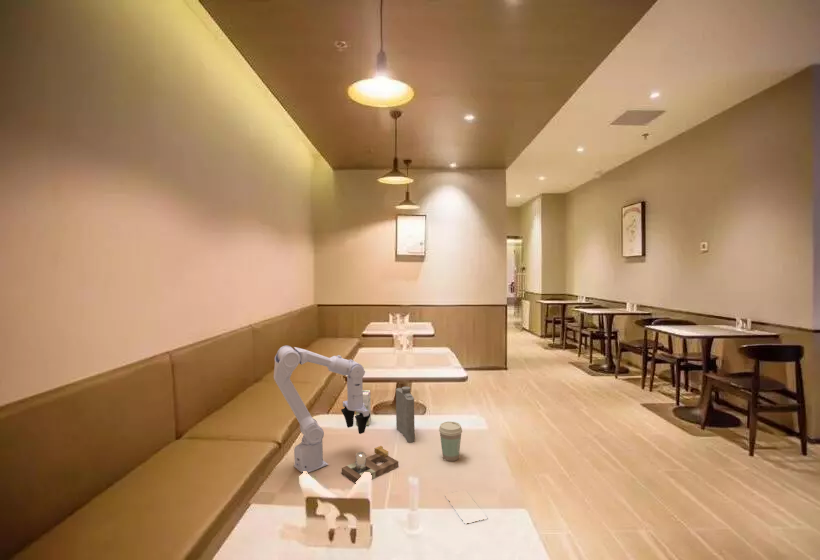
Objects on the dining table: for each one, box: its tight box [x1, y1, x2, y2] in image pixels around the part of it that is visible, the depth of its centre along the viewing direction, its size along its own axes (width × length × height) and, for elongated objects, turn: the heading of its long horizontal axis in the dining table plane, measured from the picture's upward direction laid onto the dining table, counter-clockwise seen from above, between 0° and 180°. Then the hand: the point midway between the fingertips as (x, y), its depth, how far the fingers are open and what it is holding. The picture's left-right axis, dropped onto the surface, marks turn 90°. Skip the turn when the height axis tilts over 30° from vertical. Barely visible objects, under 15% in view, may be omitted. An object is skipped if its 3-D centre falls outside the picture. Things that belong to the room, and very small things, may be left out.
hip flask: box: [395, 386, 416, 444], centre depth 169 cm, size 16×4×20 cm, turn 21°
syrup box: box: [355, 389, 372, 427], centre depth 181 cm, size 6×6×14 cm
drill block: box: [341, 453, 399, 484], centre depth 141 cm, size 17×10×2 cm, turn 132°
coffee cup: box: [438, 421, 463, 462], centre depth 149 cm, size 8×8×12 cm
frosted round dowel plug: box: [355, 451, 367, 474], centre depth 138 cm, size 3×3×7 cm
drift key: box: [374, 445, 389, 457], centre depth 148 cm, size 3×5×2 cm, turn 42°
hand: (355, 429), depth 152 cm, fingers open, 7 cm apart
